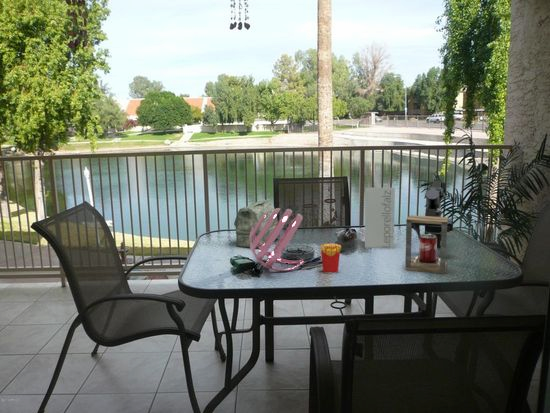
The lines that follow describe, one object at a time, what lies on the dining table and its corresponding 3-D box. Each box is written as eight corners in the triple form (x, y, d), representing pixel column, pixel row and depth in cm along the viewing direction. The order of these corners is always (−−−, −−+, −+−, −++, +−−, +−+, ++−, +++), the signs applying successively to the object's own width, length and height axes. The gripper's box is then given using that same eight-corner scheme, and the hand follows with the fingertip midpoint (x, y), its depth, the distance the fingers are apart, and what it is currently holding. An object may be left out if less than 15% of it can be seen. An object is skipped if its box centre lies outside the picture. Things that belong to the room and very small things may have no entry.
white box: (364, 247, 230) (365, 189, 225) (365, 244, 236) (365, 187, 230) (393, 248, 227) (394, 189, 221) (393, 245, 232) (394, 187, 227)
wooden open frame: (410, 259, 209) (411, 212, 205) (447, 262, 202) (449, 214, 198) (405, 269, 194) (406, 219, 190) (444, 273, 188) (447, 221, 184)
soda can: (430, 259, 205) (431, 233, 202) (439, 263, 198) (440, 237, 196) (415, 260, 203) (416, 234, 201) (424, 265, 196) (425, 238, 194)
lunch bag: (254, 235, 262) (253, 198, 258) (283, 238, 254) (281, 199, 250) (231, 246, 239) (229, 206, 235) (261, 250, 231) (260, 208, 227)
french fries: (321, 272, 194) (321, 245, 192) (321, 269, 198) (320, 243, 196) (341, 272, 193) (341, 245, 191) (340, 269, 197) (340, 243, 195)
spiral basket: (328, 220, 206) (278, 187, 206) (317, 250, 181) (260, 213, 181) (298, 261, 220) (251, 230, 220) (283, 294, 195) (230, 260, 195)
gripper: (411, 200, 211) (407, 229, 203) (453, 202, 204) (451, 232, 196) (412, 214, 220) (409, 241, 212) (454, 216, 212) (451, 245, 204)
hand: (429, 239), depth 206 cm, fingers open, 9 cm apart
